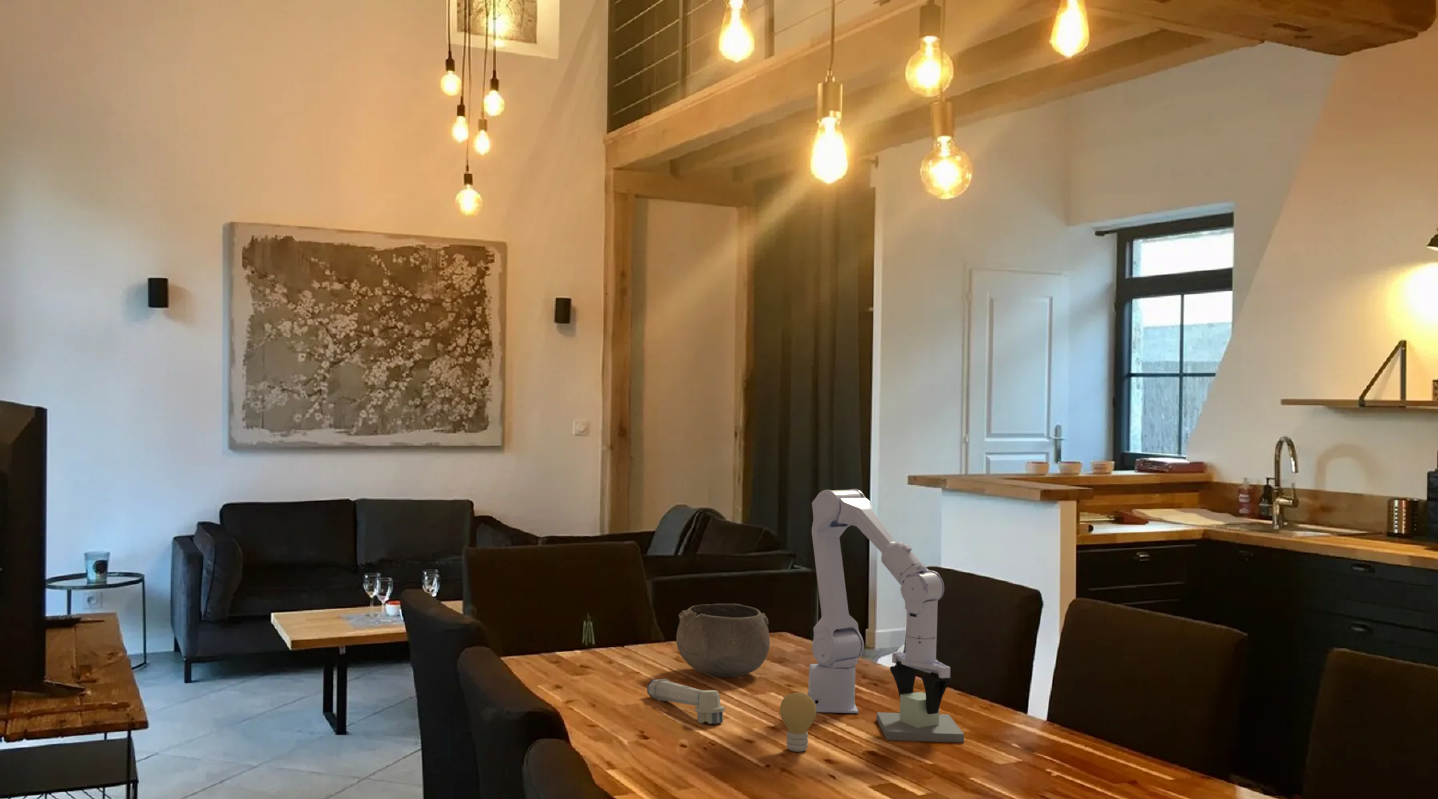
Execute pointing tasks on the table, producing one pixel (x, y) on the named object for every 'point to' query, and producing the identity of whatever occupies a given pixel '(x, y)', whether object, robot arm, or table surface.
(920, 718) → the pale green cube
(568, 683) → the table surface
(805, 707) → the light bulb
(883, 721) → the post board
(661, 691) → the toothbrush head
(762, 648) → the clay pot
